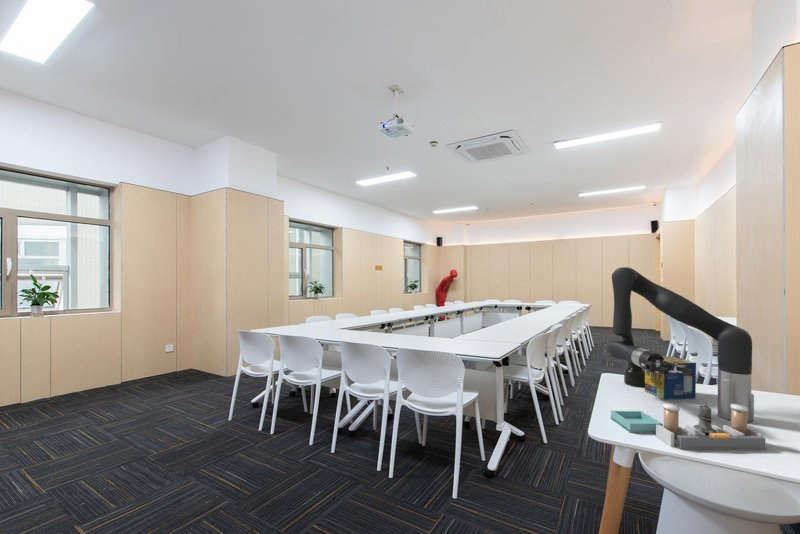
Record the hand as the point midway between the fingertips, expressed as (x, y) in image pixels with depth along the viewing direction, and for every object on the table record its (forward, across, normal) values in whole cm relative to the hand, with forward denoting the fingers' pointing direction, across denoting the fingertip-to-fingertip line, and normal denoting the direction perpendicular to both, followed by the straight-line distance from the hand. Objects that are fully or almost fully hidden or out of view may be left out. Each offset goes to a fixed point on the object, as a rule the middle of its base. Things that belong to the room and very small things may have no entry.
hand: (680, 373), depth 129 cm
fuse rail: (+11, 0, +18) cm, 21 cm away
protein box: (-30, +21, +19) cm, 41 cm away
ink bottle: (-44, +16, +20) cm, 51 cm away
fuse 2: (+12, +11, +18) cm, 24 cm away
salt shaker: (+11, 0, +18) cm, 22 cm away
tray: (0, -15, +19) cm, 24 cm away
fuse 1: (+11, -11, +18) cm, 24 cm away
